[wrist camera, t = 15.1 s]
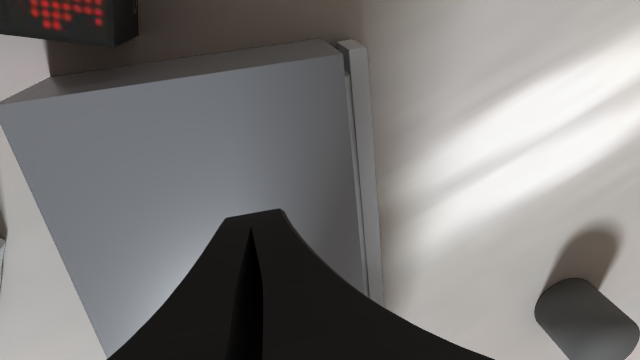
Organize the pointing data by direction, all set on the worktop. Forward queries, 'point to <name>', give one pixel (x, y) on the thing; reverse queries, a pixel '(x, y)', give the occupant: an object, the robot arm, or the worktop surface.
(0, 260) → the skincare box
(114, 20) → the portable cd player
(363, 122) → the tray
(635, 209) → the worktop surface
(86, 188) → the housing
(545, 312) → the dark grey cylinder
